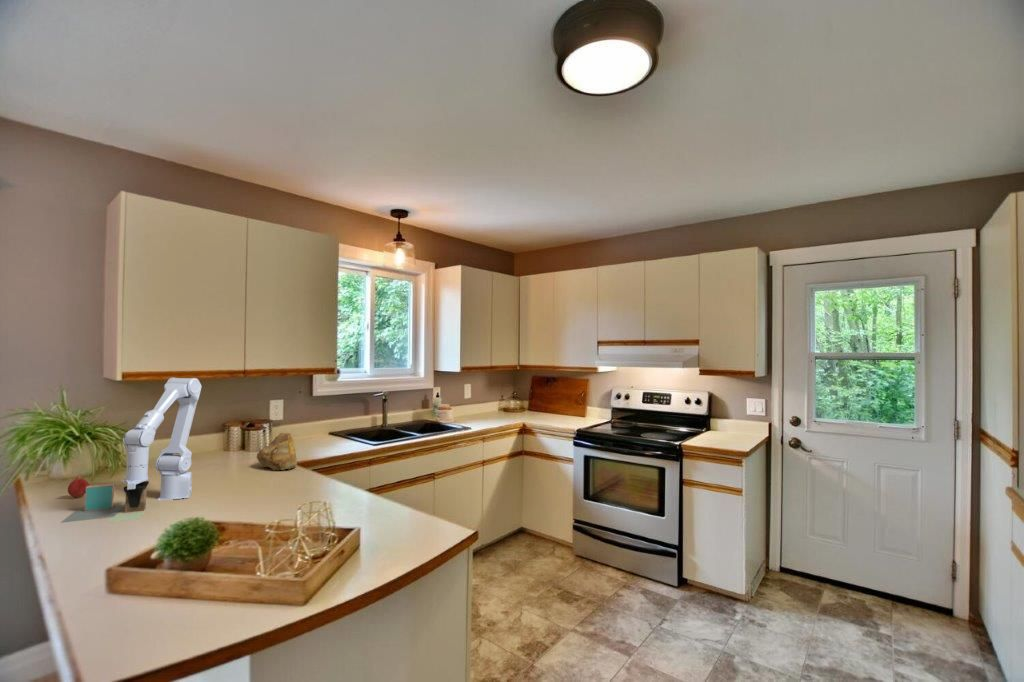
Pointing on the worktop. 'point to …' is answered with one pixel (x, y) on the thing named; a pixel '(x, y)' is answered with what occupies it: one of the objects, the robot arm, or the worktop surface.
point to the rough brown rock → (279, 453)
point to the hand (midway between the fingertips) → (135, 505)
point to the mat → (93, 514)
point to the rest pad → (126, 516)
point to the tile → (99, 497)
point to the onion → (78, 487)
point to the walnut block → (141, 506)
